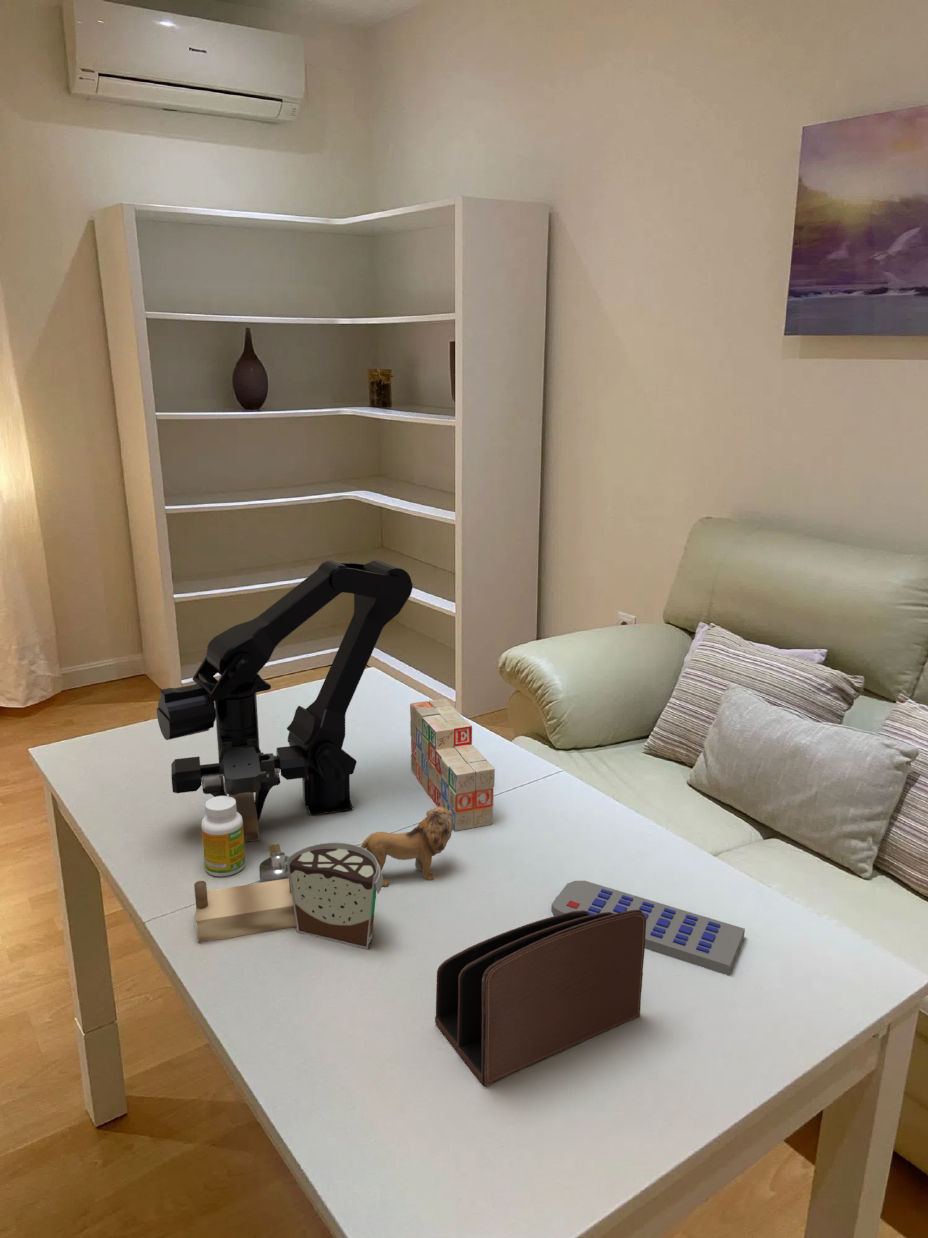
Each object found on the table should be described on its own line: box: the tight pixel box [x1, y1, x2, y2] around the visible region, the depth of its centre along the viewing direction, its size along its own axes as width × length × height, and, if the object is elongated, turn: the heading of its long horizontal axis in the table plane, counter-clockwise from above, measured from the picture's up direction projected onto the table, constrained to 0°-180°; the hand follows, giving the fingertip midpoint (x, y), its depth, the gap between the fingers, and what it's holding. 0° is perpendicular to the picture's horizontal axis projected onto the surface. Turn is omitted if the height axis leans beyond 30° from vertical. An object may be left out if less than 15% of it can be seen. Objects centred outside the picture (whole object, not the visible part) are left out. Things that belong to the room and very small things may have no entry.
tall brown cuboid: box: [228, 792, 260, 843], centre depth 133 cm, size 4×8×4 cm, turn 17°
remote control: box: [550, 880, 746, 976], centre depth 113 cm, size 8×23×2 cm, turn 61°
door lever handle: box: [258, 843, 290, 883], centre depth 122 cm, size 5×8×4 cm, turn 17°
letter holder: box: [434, 910, 646, 1087], centre depth 95 cm, size 10×20×14 cm, turn 120°
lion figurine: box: [360, 806, 454, 887], centre depth 121 cm, size 15×5×9 cm, turn 112°
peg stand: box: [193, 878, 297, 944], centre depth 112 cm, size 13×6×6 cm, turn 107°
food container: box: [284, 842, 384, 950], centre depth 111 cm, size 12×6×10 cm, turn 71°
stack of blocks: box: [409, 698, 496, 832], centre depth 142 cm, size 21×6×12 cm, turn 21°
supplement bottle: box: [201, 795, 246, 877], centre depth 123 cm, size 5×5×10 cm
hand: (243, 821), depth 134 cm, fingers closed on tall brown cuboid, 3 cm apart
